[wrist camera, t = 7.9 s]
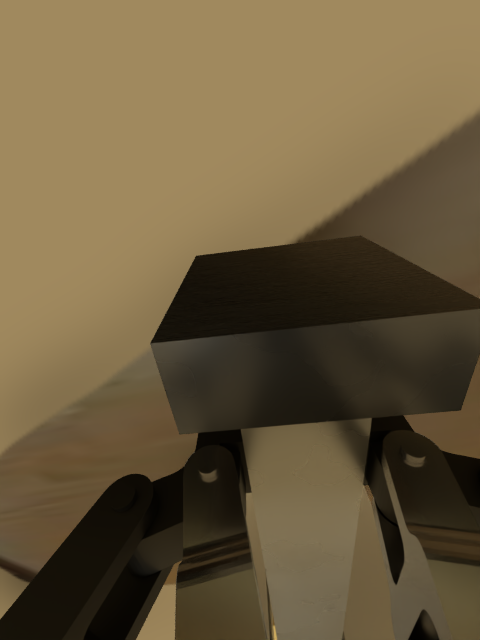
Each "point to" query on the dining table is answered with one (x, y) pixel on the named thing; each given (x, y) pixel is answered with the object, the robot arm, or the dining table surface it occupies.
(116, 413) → the dining table surface
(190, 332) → the shaft
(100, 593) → the robot arm
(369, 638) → the bracket
